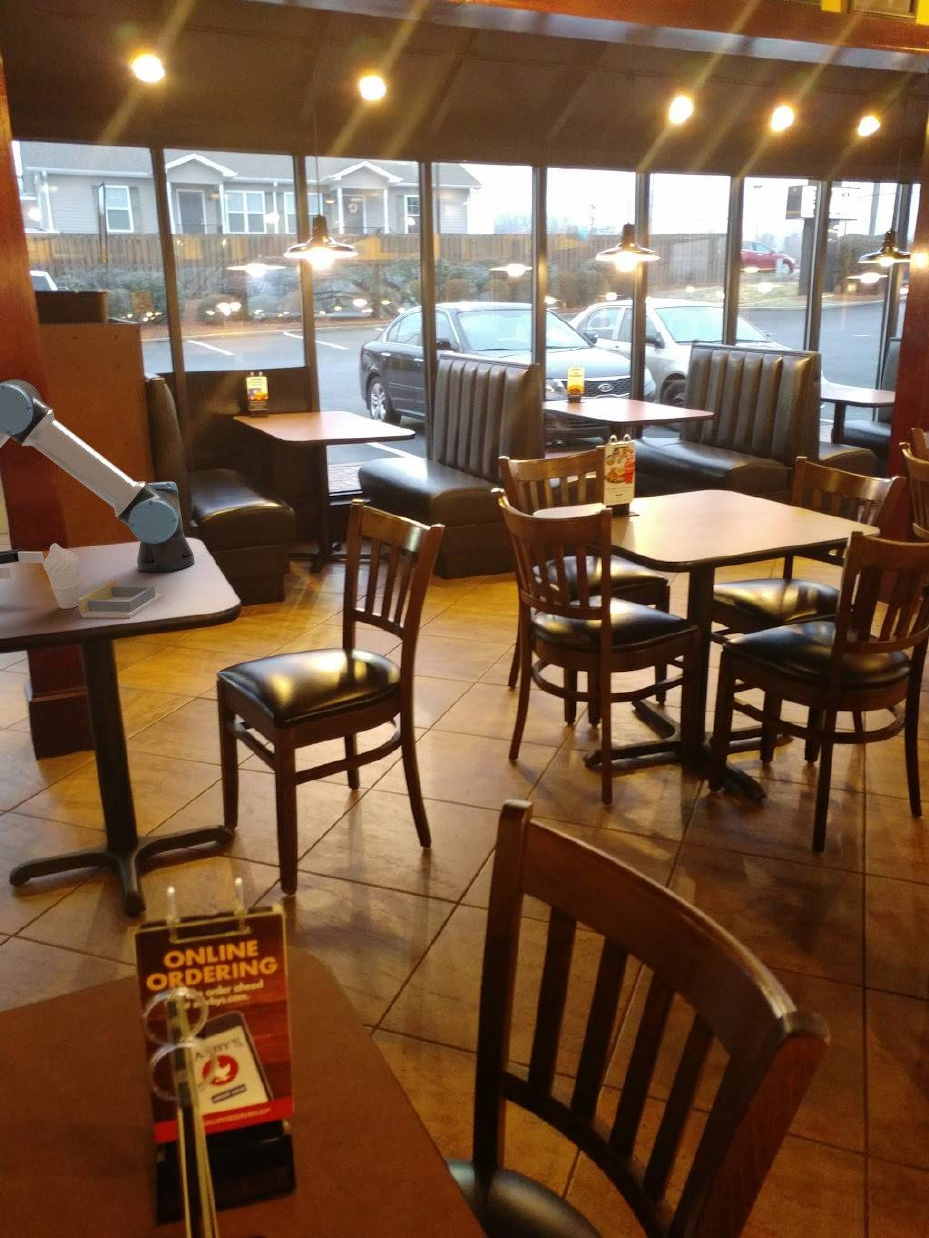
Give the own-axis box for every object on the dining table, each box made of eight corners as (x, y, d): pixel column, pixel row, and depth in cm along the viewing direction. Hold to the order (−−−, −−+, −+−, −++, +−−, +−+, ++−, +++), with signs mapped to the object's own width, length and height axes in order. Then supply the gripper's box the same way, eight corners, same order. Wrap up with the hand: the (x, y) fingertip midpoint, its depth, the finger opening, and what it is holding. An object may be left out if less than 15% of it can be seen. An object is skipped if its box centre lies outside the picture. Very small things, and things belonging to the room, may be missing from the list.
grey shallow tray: (162, 596, 253) (159, 580, 251) (130, 617, 238) (127, 600, 236) (115, 596, 255) (112, 579, 254) (80, 617, 240) (77, 599, 239)
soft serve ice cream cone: (89, 599, 254) (78, 537, 249) (84, 609, 246) (73, 545, 241) (54, 603, 252) (42, 540, 247) (48, 613, 245) (35, 548, 239)
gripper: (-16, 564, 265) (58, 565, 260) (-82, 593, 242) (-3, 595, 237) (-22, 536, 262) (52, 537, 258) (-89, 563, 239) (-9, 564, 235)
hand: (26, 565), depth 248 cm, fingers open, 13 cm apart
